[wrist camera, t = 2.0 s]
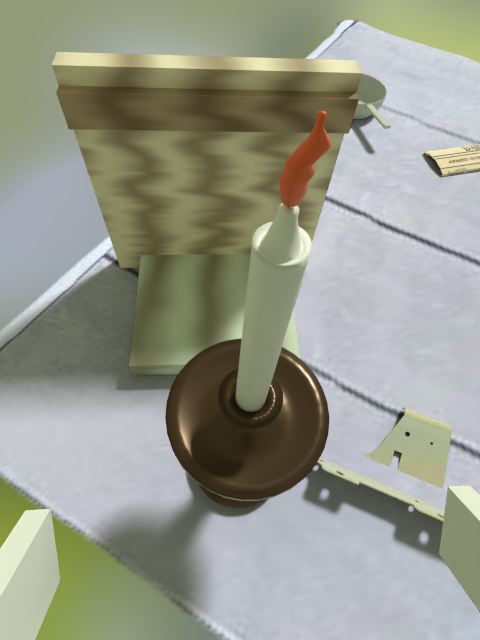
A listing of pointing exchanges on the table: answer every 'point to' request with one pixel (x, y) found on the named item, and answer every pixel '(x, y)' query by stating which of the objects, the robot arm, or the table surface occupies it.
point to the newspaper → (457, 159)
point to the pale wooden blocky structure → (197, 177)
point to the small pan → (370, 99)
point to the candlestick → (257, 370)
